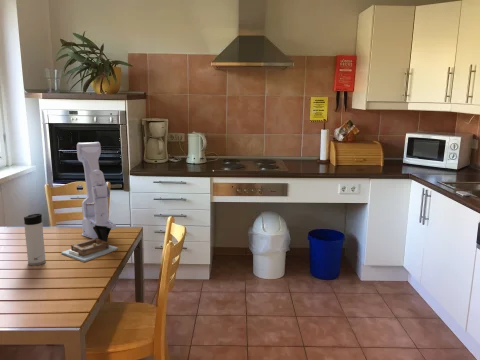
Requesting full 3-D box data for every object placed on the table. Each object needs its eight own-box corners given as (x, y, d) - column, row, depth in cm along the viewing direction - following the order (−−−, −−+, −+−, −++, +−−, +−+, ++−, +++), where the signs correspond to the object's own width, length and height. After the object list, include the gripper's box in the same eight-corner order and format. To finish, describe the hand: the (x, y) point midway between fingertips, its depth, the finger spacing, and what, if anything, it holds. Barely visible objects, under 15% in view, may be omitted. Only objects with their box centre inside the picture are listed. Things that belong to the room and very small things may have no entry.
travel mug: (39, 266, 162) (35, 217, 158) (24, 265, 163) (19, 216, 159) (49, 260, 168) (45, 212, 164) (35, 259, 169) (30, 211, 165)
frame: (71, 250, 175) (70, 242, 175) (97, 243, 184) (96, 235, 184) (82, 256, 170) (82, 248, 169) (108, 248, 179) (108, 240, 178)
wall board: (61, 253, 175) (61, 249, 174) (95, 242, 189) (95, 238, 188) (84, 262, 167) (83, 257, 166) (117, 249, 181) (117, 244, 180)
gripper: (120, 212, 181) (122, 242, 184) (97, 207, 188) (98, 235, 191) (108, 216, 175) (109, 247, 178) (84, 211, 182) (86, 240, 185)
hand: (103, 241), depth 184 cm, fingers closed
